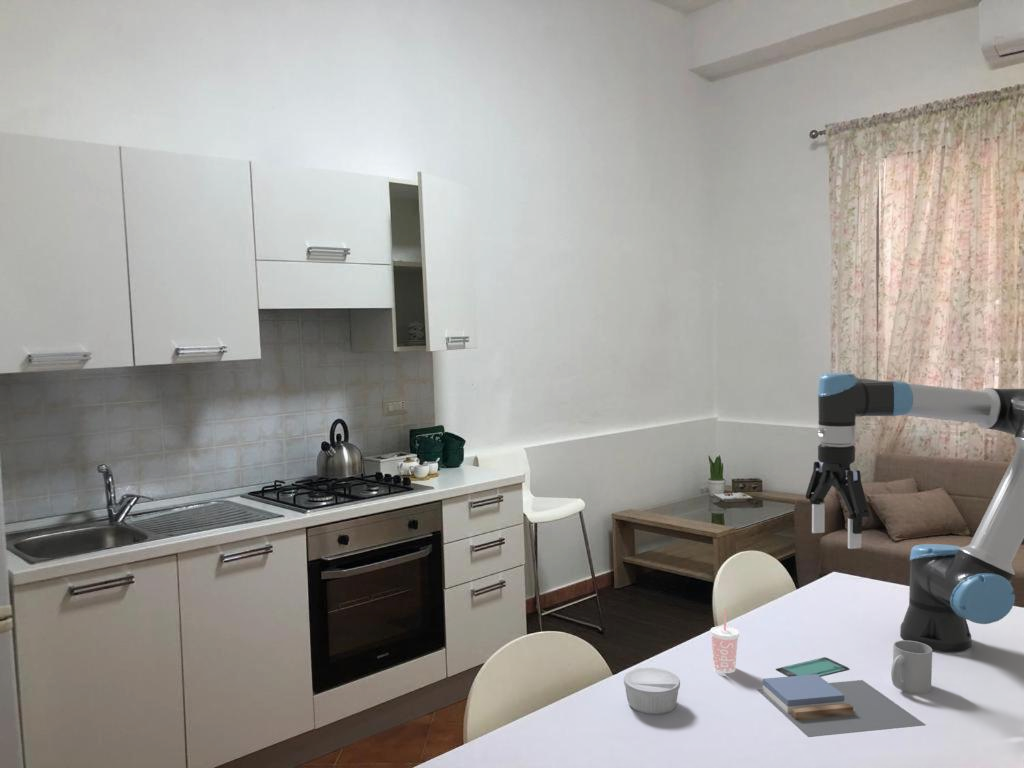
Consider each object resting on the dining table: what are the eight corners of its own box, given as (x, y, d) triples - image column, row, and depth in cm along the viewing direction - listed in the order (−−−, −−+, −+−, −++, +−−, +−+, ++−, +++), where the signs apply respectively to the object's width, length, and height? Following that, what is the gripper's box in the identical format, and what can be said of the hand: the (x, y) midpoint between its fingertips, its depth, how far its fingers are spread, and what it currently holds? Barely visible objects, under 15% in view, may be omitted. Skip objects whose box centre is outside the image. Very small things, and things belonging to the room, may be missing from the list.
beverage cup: (706, 673, 178) (707, 610, 177) (713, 663, 184) (714, 602, 183) (735, 679, 175) (736, 615, 174) (741, 668, 181) (742, 606, 180)
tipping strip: (848, 711, 159) (848, 703, 159) (853, 714, 158) (853, 707, 158) (791, 716, 157) (791, 708, 157) (795, 720, 156) (795, 712, 156)
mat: (862, 682, 173) (862, 679, 173) (926, 727, 154) (926, 724, 154) (756, 692, 169) (756, 689, 169) (808, 739, 149) (808, 736, 149)
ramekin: (645, 722, 156) (645, 695, 156) (612, 699, 166) (612, 674, 166) (691, 709, 162) (692, 683, 161) (656, 688, 172) (657, 663, 171)
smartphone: (774, 668, 179) (825, 655, 185) (774, 673, 179) (825, 661, 185) (798, 681, 172) (851, 668, 179) (798, 687, 172) (851, 673, 179)
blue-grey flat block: (844, 707, 161) (816, 685, 171) (844, 695, 161) (816, 674, 170) (787, 712, 159) (762, 690, 168) (787, 700, 158) (762, 678, 168)
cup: (938, 691, 169) (939, 649, 168) (909, 703, 164) (910, 659, 163) (905, 678, 175) (906, 637, 175) (876, 689, 170) (877, 647, 169)
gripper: (790, 437, 190) (789, 527, 192) (855, 453, 166) (854, 556, 167) (819, 436, 192) (819, 525, 193) (888, 451, 167) (887, 553, 169)
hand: (835, 540), depth 180 cm, fingers open, 13 cm apart
